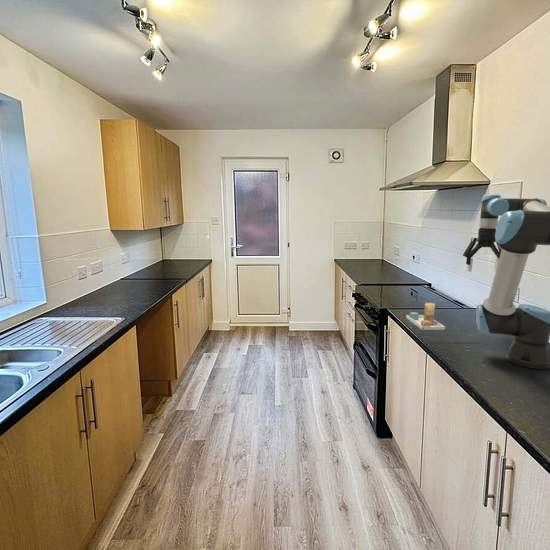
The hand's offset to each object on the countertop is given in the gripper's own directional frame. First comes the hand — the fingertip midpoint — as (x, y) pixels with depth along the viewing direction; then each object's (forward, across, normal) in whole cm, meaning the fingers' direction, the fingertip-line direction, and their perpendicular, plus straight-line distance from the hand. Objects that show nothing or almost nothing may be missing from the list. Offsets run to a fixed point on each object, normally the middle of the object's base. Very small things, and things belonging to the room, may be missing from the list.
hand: (482, 271), depth 179 cm
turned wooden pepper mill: (+31, +18, -13) cm, 38 cm away
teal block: (+31, +23, -21) cm, 44 cm away
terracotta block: (+31, +23, -6) cm, 39 cm away
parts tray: (+32, +20, -14) cm, 40 cm away
